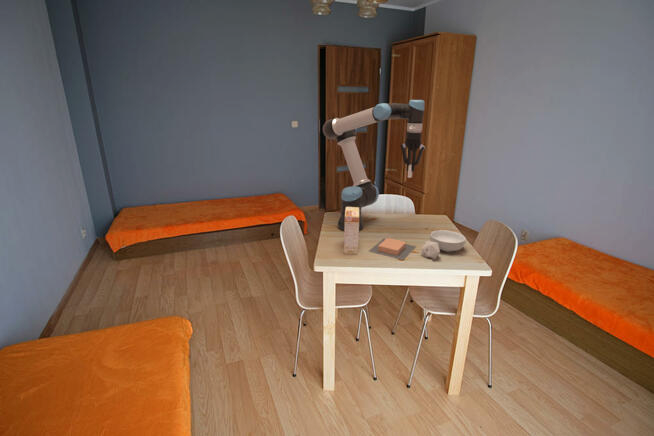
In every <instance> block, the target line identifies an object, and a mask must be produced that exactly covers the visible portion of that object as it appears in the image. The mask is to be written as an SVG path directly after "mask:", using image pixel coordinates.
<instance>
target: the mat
mask: <svg viewBox="0 0 654 436" xmlns="http://www.w3.org/2000/svg"><path fill="white" fill-rule="evenodd" d="M386 239H387V238H386ZM386 239H385V238H382V239H381V240H380V241H379V242H378V243H376V244H375V245H373V247H372V248H370V249H369V250H368V253H369V252H370V253H373V254H377V255H382V256H385V257H389V258H394V259H396V260H400V261H404V260H405V259H406V258H407V257H408V256H409V255H410V254H411V253H412V252H413V251H414V250H415V249H416V248H417V246H415V245H411V244H407V243H406V247H405V248H404V249H403V250H402V251H401V252H400V253H399V254H398V255H397V256H395V255H391V254H387V253H383V252H379V251H378V245H380V244H381V243H382V242H383V241H384V240H386Z"/></svg>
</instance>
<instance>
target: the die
mask: <svg viewBox="0 0 654 436" xmlns="http://www.w3.org/2000/svg"><path fill="white" fill-rule="evenodd" d="M421 251H422V256H423V257H425V258H429V259H432V260H436V259H437V257H438V256H439V254H440V253H441V250H440V249H439V245H438V243H437V242H431V240H426V241H425V243H424V244H423V245H422V247H421Z"/></svg>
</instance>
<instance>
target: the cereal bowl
mask: <svg viewBox="0 0 654 436" xmlns="http://www.w3.org/2000/svg"><path fill="white" fill-rule="evenodd" d="M429 239H430V240H429V241H431V242H437V243H438V245H439V249H440V251H442V252H446V253H448V252H449V253H451V252H455V251H457V252H458V251H459V250H461V249H463V247H464V246H465V244H466V240H467V239H466V237H465V236H464V235H463V234H461V233H460V232H456V231H453V230H448V229H439V230H433V231H432V232H431V233H430V236H429Z"/></svg>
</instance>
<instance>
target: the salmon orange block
mask: <svg viewBox="0 0 654 436" xmlns="http://www.w3.org/2000/svg"><path fill="white" fill-rule="evenodd" d="M406 244H407V241H402V240H398V239H394V238H389V237H387V238H386V240H384V241H383V242H382V243H381V244H380V245H378V251H379V252H383V253H387V254H391V255H395V256H397V255H398V254H399V253H400V252H401V251H402V250H403V249H404V248H405V247H406Z"/></svg>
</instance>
